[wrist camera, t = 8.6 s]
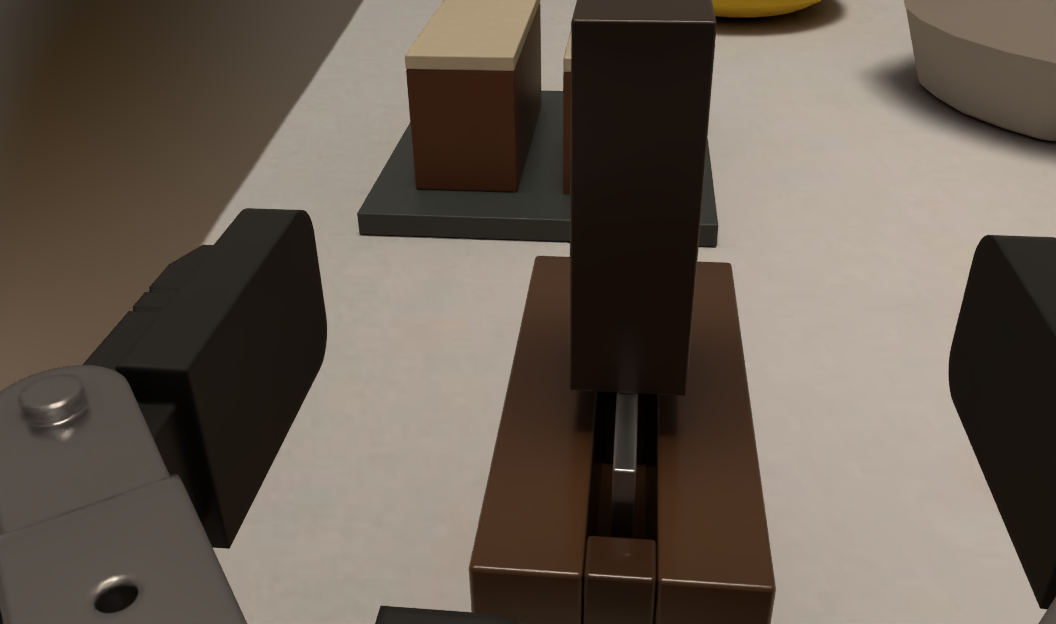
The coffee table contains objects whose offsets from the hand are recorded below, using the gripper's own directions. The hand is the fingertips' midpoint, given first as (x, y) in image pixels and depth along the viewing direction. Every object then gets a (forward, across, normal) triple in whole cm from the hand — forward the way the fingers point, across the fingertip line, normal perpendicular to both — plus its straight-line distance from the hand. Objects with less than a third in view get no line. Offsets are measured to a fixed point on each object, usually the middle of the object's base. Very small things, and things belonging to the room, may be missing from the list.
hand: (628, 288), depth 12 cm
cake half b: (+34, +7, +12) cm, 37 cm away
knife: (+6, 0, +12) cm, 14 cm away
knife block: (+6, 0, +13) cm, 14 cm away
